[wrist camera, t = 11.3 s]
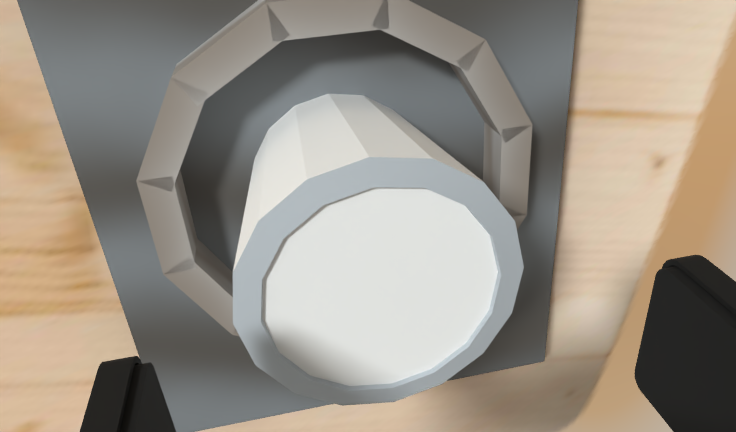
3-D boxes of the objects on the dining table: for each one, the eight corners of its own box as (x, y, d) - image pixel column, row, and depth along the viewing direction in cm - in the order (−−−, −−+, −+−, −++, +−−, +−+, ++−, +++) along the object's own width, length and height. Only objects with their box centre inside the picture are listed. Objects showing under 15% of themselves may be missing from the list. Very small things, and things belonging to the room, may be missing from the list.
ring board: (-13, -151, 15) (-67, -165, 12) (569, -190, 17) (628, -208, 14) (170, 409, 24) (162, 468, 22) (529, 339, 27) (561, 385, 24)
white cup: (467, 102, 19) (574, 192, 13) (401, 276, 22) (464, 418, 16) (258, 46, 17) (269, 124, 11) (214, 247, 20) (203, 398, 14)
